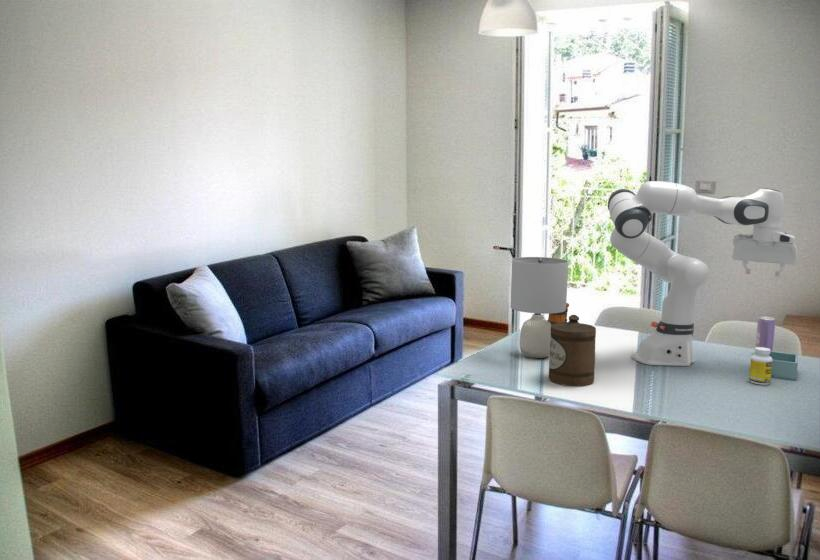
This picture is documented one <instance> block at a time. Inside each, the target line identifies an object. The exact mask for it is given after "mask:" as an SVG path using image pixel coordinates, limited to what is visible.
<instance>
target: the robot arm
mask: <svg viewBox="0 0 820 560" xmlns="http://www.w3.org/2000/svg"><path fill="white" fill-rule="evenodd" d="M784 198H785V197H784V194H783V193H782V191H780V190H777V189H775V188H768V187H767V188H766V187H762V188H759V189H758V190H757V191H755V192H754V193H751V194H748V195H746V196H743V197H742V196H735V195H728V196H724V197H720V198H715V197H710V196H704V195H699V194H698V193H697V192H696V190H695V189H694V188H693V187H690V186H688V185H685V184H682V183H677V182H672V181H661V180H660V181H658V180H649V181H646V182H644V183H642V184H641V185H640V187H639V188H638V191H637V193H635V192H633V191H632V190H630V189H627V188H620V189H616V190H614V191H613V193H611V195H610V196H609V197H608V200H607V201H608V202H607V209H608V211H609V217H610V219H611V222H612V223H613V226H614V229H613V230H612V232H611V233H610V239H609V241H610V244H611V246H612V247H613V248H615V250H617V252H619V253H620V254H622V255H623V256H624V257H626V258H627V259H629V260H631V261H632V262H635V264H638V265H640V266H642V267H643V268H645V269H646V270H648V271H650V272H651V273H652V274H653V275H654V276H656V277H658V278H659V279H660V280H662V281H663V282H666V283H669V284H671V285H670V289H669V290H668V294H667V296H665V297H664V298H663V300H662V302H661V303H662V305H661V317H660V320H659V322H656V321H653V320H652V322H651V323H650V325H651V327H653V328H656V329H655V331H654V332H652V333H651V334H649V335H648V336H646V337H645V338H643V339H642V340H641V341H640V342H639V345H638V349H637V352H633V353H631V359H633V360H634V361H637V362H638V363H641V364H644V365H648V366H672V367H673V366H678V367H680V366H685V367H689V366H691V364H693V363H695V362H696V361H695V356H694V350H693V349H694V348H693V347H694V345H693V337H694V331H695V327H694V326H695V323H694V315H695V313H694V312H695V305H696V300H697V297H698V295H699V293H700V290H701V289H702V287H703V286H704V285H706V284H707V283H708V281H709V279H710V275H711V274H710V273H711V272H710V268H709V266H708V265H707V264H706V263H705V262H703V261H702V260H701V259H699V258H696V257H692V256H687V255H684V254H680V253H678V252H675V251H674V250H672V249H671V248H669V246H667V244H666V243H665V242H663V241H662V240H660V239H658V238H657V237H654V236H653V235H651V234H650V233H648V232H646V229H647V227H648V224H649V223H650V222H651V221H652V218H653V215H652V214H660V215H661V214H662V215H667V216H675V217H686V216H689V215H690V214H700V215H706V216H712V217H714V218H716V219H717V220H718V221H720V222H722V224H726V225H736V226H745V227H746V226H751V225H753V227H752V234H743V233H739V234H736V235H734V237H733V240H732V244H733V247H734V248H733V250H732V259H733V260H734V261H739V262H740V261H742V265H743V267H744V269H745V272H744V273H745V275H751V268H749V267H748V265H747V264H748V263H749V262H755V263H767V264H778V265H779V267H780V268H779V270H776V271H775V272H774V273H775V274H774V277H778V278H780V277H781V273H782V271H783V269H784V268H785V266H786V265H790V266H792V265H793V266H794V265H796V264H797V262H798V247H797V245H796V243H795V241H796V237H795V236H794V235H792V234H789V233H787V232H783V231H782V230H783V229H782V227H783V226H782V219H783V217H784V210H785V207H784V206H785V201H784V200H785V199H784Z"/></svg>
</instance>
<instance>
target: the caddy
mask: <svg viewBox="0 0 820 560" xmlns="http://www.w3.org/2000/svg"><path fill="white" fill-rule="evenodd" d="M754 354H755V352H754V353H753V355H754ZM769 356H770V357H771V358H772V360H773V361H772V371H771V378H774V379H780V380H781V379H783V380H788V381H789V380H790V381H797V374H798V364H799V363H798V362H799V354H797V353H789V352H779V351H774V350H773V351H770V354H769Z"/></svg>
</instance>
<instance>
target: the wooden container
mask: <svg viewBox="0 0 820 560" xmlns="http://www.w3.org/2000/svg"><path fill="white" fill-rule="evenodd" d="M568 320H569V321H567V322H565V323H555V324H552V325H551V339H550V354H549V356H548V359H549V360H548V380H549V381H551V382H552V383H555V384H557V385H558V384H559V385H562V386H570V387H584V386H588V385H592V384H593V383H594V381H595V370H596V369H595V368H596V366H595V365H596V338H597V337H596V335H597V328H596V327H595V326H594V325H591V324H586V323H582V322H581V323H579V320H580V318H579V316H578V315H576V314H570V315H569V316H568Z"/></svg>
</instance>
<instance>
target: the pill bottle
mask: <svg viewBox="0 0 820 560" xmlns="http://www.w3.org/2000/svg"><path fill="white" fill-rule="evenodd" d="M754 353H755V354H754ZM754 353H753V354H752V355H751V357H750V364H749V365H750V366H749V367H750V368H749V376H748V377H749V378H748V380H749V382H750V383H752V384H754V385H760V386H761V385H762V386H765V385H766V386H768V385H771V379H772V377H771V371H772V361H773V360H772V358H771V357H770V356H769V354H770V349H769V348H764V347H756V348H755V347H754Z"/></svg>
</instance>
